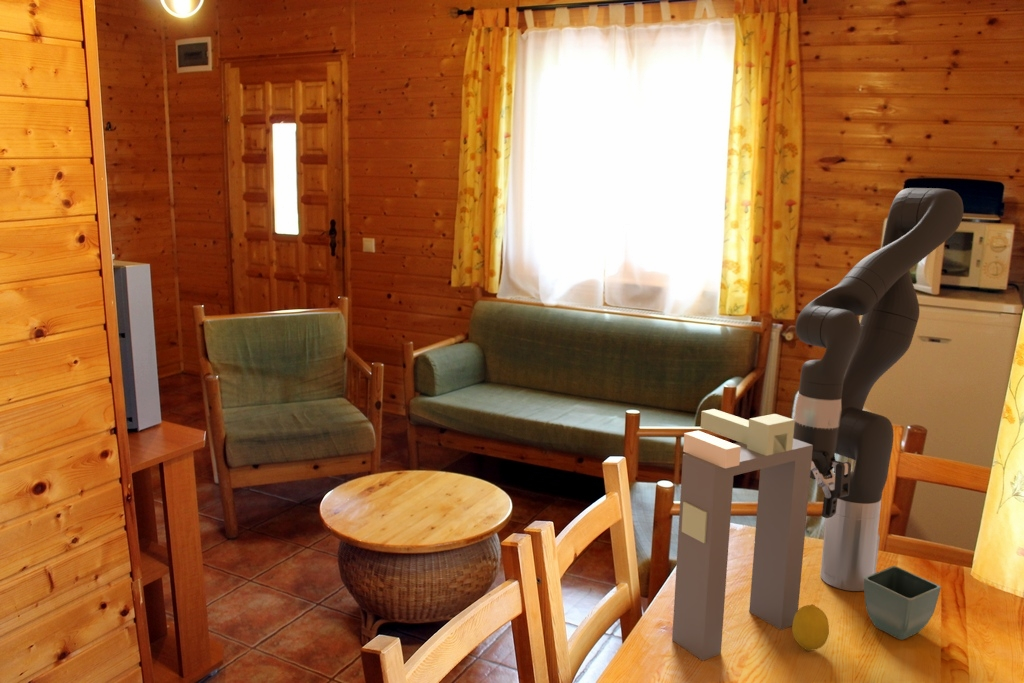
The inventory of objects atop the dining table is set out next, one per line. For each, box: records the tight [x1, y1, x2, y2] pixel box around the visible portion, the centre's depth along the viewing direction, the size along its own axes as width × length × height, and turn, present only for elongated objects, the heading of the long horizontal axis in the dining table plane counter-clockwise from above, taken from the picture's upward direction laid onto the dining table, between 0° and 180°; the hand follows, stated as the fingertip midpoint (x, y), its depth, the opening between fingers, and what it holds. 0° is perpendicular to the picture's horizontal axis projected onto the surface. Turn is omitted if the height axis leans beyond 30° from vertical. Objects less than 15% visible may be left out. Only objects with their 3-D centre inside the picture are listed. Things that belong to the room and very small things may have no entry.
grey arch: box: [671, 438, 813, 662], centre depth 138 cm, size 22×7×32 cm, turn 122°
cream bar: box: [682, 430, 741, 468], centre depth 130 cm, size 3×9×3 cm, turn 32°
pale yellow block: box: [700, 408, 795, 456], centre depth 139 cm, size 6×16×5 cm, turn 32°
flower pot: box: [863, 565, 942, 641], centre depth 141 cm, size 9×9×9 cm
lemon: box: [791, 604, 830, 652], centre depth 135 cm, size 6×6×8 cm
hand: (807, 508), depth 149 cm, fingers open, 8 cm apart
